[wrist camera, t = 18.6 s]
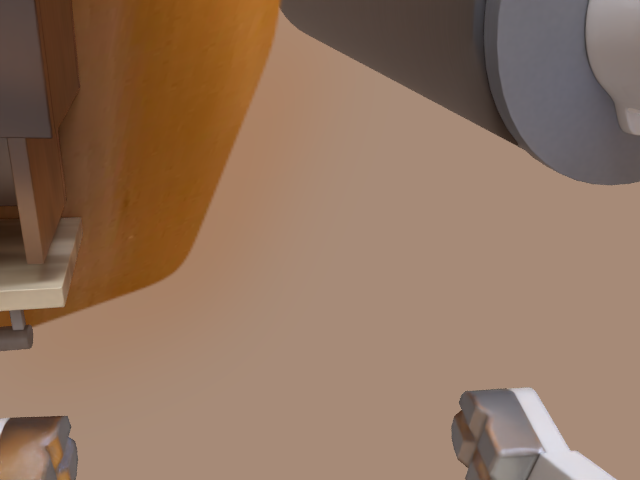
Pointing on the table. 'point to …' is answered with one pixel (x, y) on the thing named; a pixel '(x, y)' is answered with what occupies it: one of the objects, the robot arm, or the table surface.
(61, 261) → the drawer
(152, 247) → the table surface
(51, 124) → the cabinet
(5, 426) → the robot arm
